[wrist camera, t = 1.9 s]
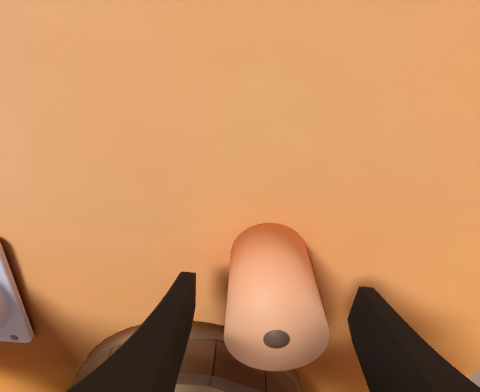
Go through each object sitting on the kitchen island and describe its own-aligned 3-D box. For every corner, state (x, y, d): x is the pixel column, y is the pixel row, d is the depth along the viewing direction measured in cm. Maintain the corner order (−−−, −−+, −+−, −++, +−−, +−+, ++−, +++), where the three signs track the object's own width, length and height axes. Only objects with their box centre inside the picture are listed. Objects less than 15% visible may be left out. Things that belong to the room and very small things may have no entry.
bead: (228, 280, 17) (221, 368, 12) (233, 219, 15) (227, 297, 10) (299, 285, 17) (318, 376, 12) (313, 226, 15) (341, 306, 10)
